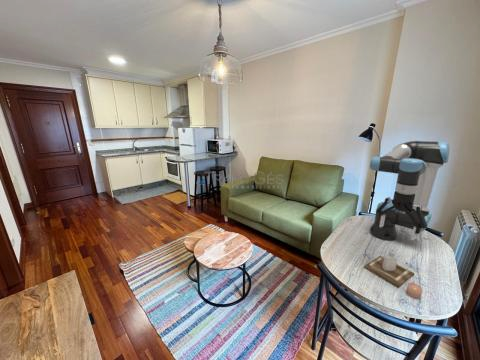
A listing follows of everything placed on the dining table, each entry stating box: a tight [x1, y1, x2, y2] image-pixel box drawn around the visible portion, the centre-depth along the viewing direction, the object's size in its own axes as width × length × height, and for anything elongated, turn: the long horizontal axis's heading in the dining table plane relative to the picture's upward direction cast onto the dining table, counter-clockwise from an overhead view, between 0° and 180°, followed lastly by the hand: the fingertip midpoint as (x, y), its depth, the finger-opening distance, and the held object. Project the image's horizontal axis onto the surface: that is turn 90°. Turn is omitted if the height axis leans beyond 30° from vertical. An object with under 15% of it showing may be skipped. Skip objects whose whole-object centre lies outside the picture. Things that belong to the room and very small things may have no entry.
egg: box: [405, 282, 423, 300], centre depth 89 cm, size 5×5×4 cm
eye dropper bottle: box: [382, 248, 398, 271], centre depth 101 cm, size 4×6×12 cm
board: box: [363, 255, 415, 289], centre depth 103 cm, size 16×16×2 cm
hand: (396, 232), depth 97 cm, fingers open, 13 cm apart
